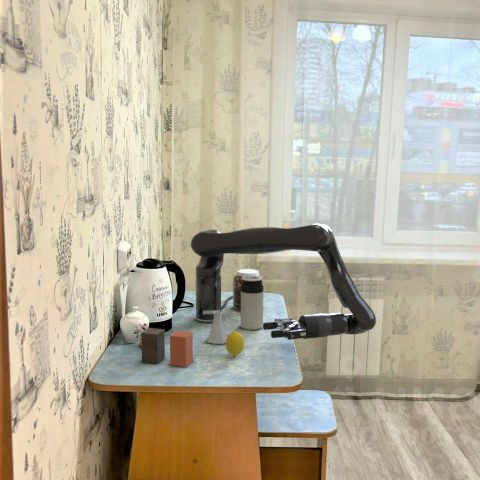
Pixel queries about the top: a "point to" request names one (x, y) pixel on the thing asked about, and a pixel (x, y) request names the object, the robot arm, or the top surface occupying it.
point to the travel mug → (252, 302)
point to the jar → (237, 286)
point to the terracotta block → (181, 348)
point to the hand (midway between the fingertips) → (267, 330)
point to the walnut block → (153, 345)
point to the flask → (217, 330)
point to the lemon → (234, 343)
